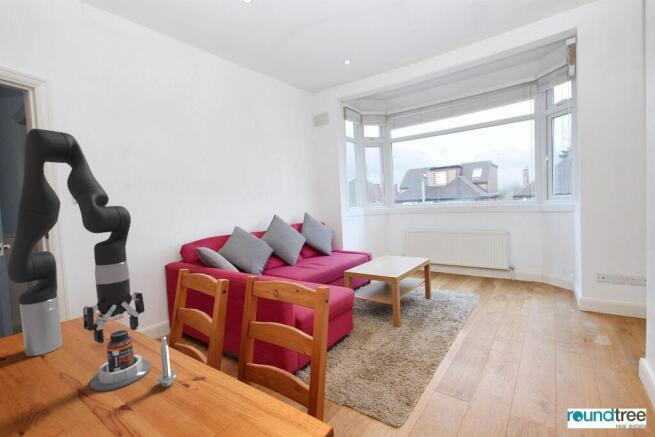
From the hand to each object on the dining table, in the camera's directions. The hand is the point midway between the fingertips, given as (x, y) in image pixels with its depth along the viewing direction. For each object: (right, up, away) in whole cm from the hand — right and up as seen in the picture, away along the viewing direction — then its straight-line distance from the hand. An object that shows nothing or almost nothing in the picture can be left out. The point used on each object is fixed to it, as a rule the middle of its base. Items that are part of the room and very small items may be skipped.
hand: (117, 335), depth 84 cm
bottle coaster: (+1, -11, +1) cm, 11 cm away
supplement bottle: (+1, -11, +1) cm, 11 cm away
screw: (+16, -11, -4) cm, 20 cm away
